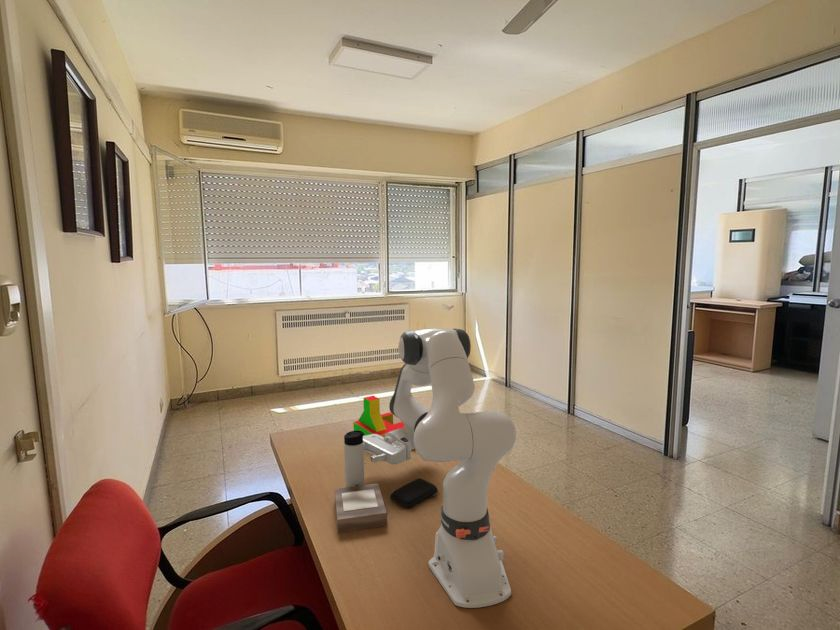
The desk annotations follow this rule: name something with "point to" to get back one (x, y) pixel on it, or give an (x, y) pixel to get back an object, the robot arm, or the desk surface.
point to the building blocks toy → (375, 419)
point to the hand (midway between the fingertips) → (363, 455)
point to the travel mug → (354, 458)
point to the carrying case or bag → (414, 493)
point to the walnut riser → (359, 508)
